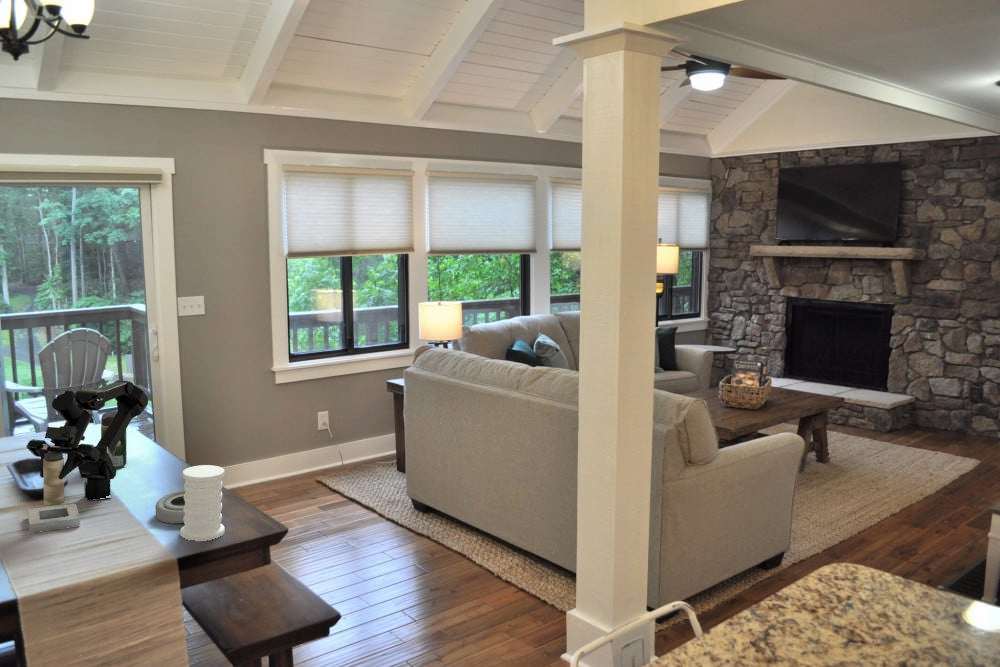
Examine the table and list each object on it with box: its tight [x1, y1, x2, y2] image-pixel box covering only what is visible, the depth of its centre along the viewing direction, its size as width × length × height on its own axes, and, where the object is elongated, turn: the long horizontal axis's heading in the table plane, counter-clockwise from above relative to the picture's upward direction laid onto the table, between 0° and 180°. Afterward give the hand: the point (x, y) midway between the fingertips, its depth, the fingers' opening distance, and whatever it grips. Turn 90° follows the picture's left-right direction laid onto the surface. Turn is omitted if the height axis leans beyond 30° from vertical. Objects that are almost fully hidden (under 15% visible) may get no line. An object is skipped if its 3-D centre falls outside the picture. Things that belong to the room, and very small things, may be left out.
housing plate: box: [27, 503, 81, 534], centre depth 223 cm, size 12×12×2 cm
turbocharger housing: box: [155, 488, 224, 524], centre depth 235 cm, size 17×6×15 cm
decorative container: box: [179, 464, 226, 542], centre depth 221 cm, size 12×12×18 cm
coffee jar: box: [100, 410, 128, 469], centre depth 273 cm, size 10×8×19 cm
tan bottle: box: [42, 452, 65, 507], centre depth 221 cm, size 5×5×14 cm
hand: (50, 477), depth 220 cm, fingers closed on tan bottle, 5 cm apart
